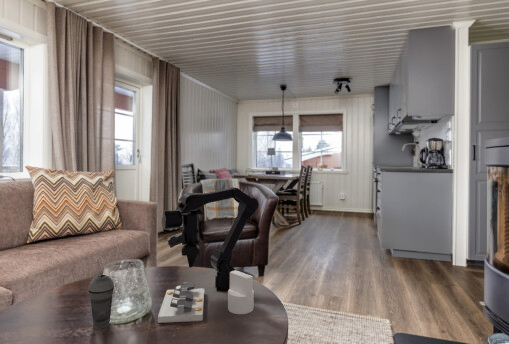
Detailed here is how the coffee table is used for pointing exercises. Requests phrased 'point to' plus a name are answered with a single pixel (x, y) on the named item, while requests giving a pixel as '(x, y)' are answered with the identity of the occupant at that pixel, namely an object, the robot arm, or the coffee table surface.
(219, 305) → the coffee table surface
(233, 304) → the cylinder with rectangular tab
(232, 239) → the robot arm
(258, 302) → the coffee table surface
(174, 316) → the switch panel
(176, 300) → the switch
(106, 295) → the beverage cup
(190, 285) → the switch
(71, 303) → the coffee table surface
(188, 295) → the switch
